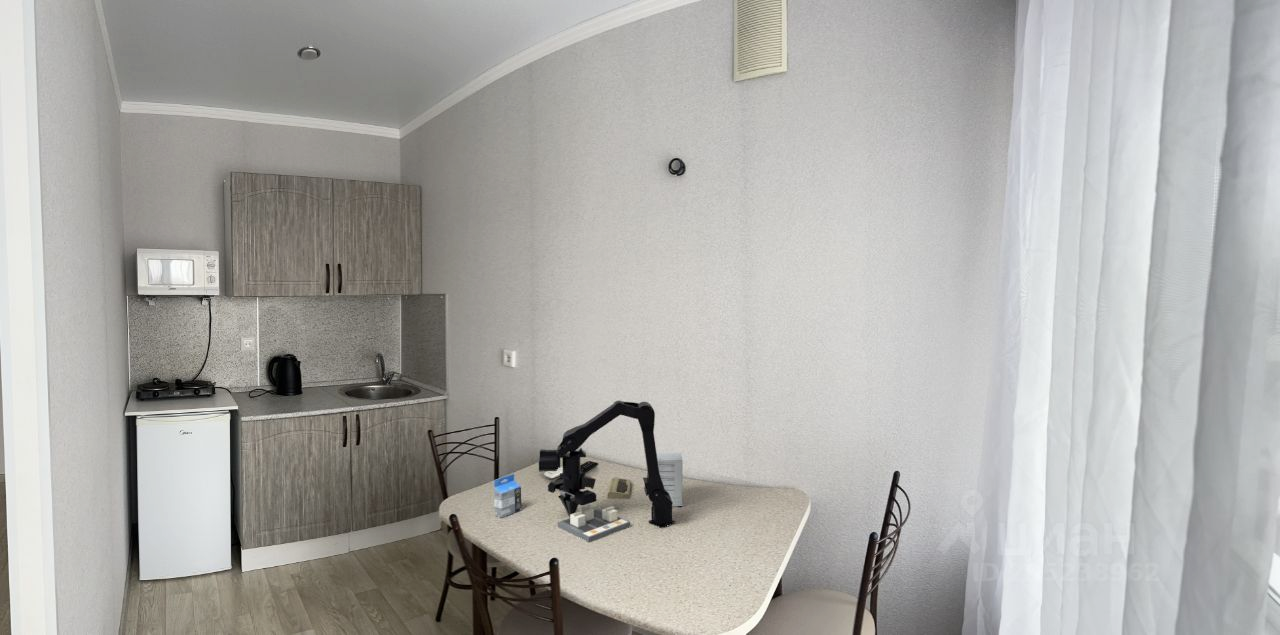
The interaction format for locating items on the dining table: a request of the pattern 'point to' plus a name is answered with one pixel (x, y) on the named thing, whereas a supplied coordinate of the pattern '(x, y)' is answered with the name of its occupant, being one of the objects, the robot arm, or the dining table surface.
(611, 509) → the slider
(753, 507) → the dining table surface
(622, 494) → the computer
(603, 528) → the switch panel
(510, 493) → the label tape box
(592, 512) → the slider middle
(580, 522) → the slider
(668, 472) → the small drawer cabinet
